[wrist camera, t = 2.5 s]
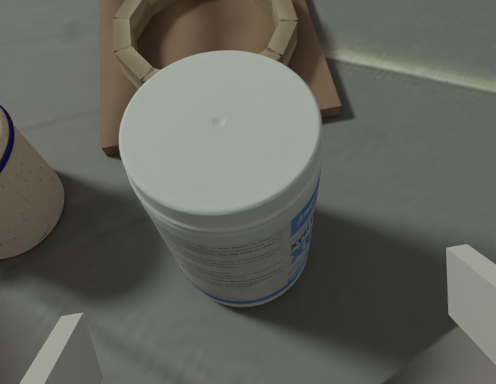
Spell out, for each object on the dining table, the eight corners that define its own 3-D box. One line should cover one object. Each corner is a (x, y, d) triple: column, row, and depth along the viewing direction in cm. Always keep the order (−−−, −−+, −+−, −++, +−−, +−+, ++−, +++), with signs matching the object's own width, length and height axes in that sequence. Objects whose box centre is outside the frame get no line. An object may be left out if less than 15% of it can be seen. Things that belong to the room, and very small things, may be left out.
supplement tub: (322, 296, 30) (355, 200, 17) (186, 322, 30) (116, 243, 17) (292, 177, 35) (300, 30, 22) (174, 198, 35) (111, 62, 22)
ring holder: (106, 155, 37) (90, 129, 34) (103, -1, 46) (90, -34, 43) (339, 114, 37) (345, 85, 34) (289, -32, 47) (290, -66, 44)
